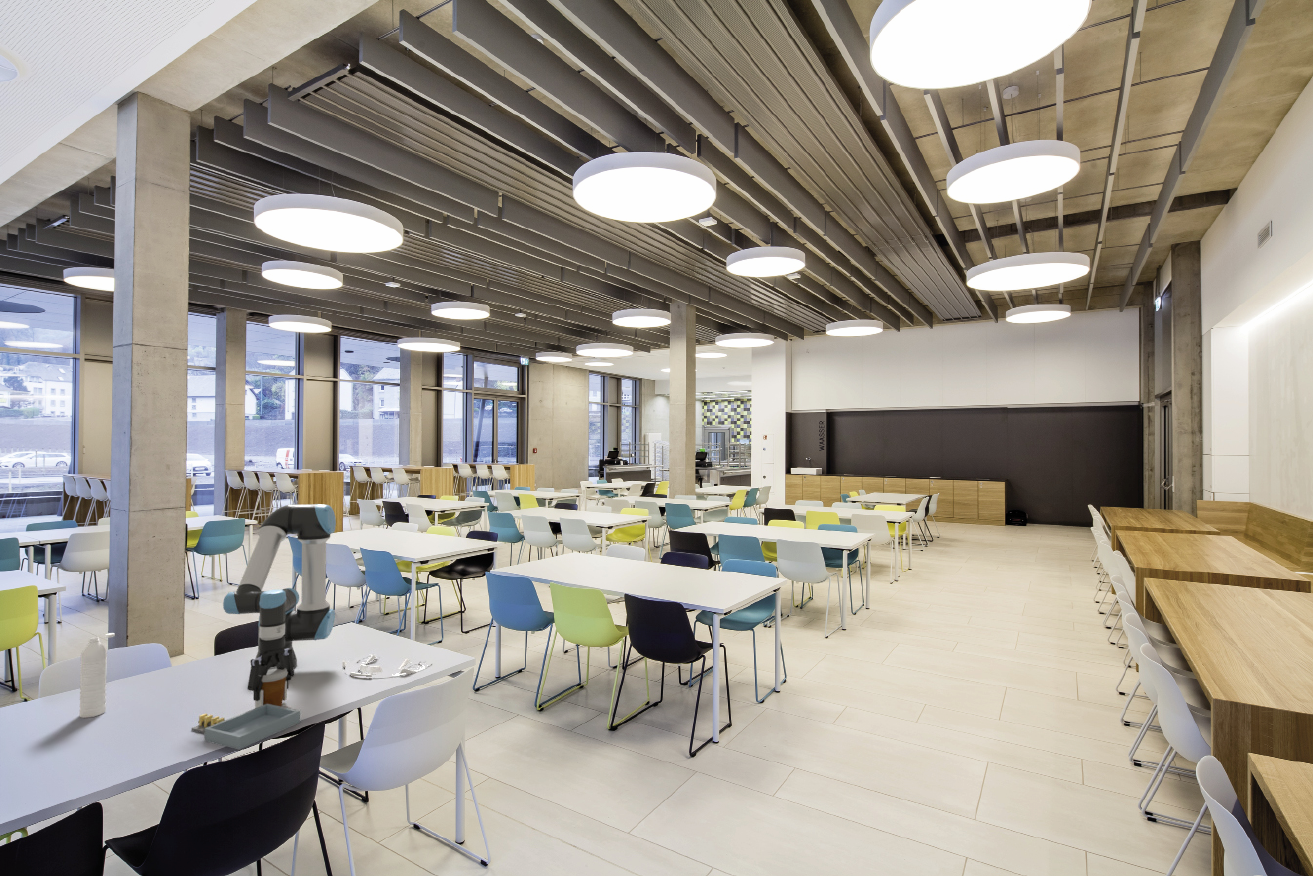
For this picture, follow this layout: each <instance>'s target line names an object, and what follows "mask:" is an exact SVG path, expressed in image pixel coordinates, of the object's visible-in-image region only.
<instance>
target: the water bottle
mask: <svg viewBox="0 0 1313 876" xmlns="http://www.w3.org/2000/svg"><path fill="white" fill-rule="evenodd" d="M115 634H116V633H114V632H109V633H106V634H104V639H105V638H106V639H110V638H113V637H116V636H115ZM107 657H108V650H107V647H105V645H103V643H102V642H101V641H100V637H99V636H93V637H90V638H89V640H88V644H86V646H85V647H84V648H83V650H82V651H81V653H80V675H79V676H80V679H79V680H80V681H79V683H80V685H79V690H80V691H79V718H82V719H83V718H84V719H85V718H94V717H97V716H101V715H103V714H104V713H106V711H107V704H106V703H107V670H108V669H107V667H108V666H107V664H108V662H107V661H108V658H107Z"/></svg>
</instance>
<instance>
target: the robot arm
mask: <svg viewBox="0 0 1313 876" xmlns="http://www.w3.org/2000/svg"><path fill="white" fill-rule="evenodd" d="M336 519H337V518H336V515H335V512H334V508H333V507H332V506H331V505H329V504H320V503H314V504H311V503H309V504H287V505H286V504H285V505H284V506H283V505H282V506H280V507H279V508H277V509H276V510H274V511H272V513H270V514H269V515H268V516H267V517H266V518H265V519H264V520H263V522H262V524H260V527H259V529H258V539H257V542H256V544H255V546H254V549H253V551H252V553H251V556H250V558H249V560H248V563H247V566H246V568H245V571H244V573H243V575H242V577H241V580H240V582H239V584H238V587H237V589H236V591H229V592H228V593H226V594H225V596H224V599H223V604H222V607H223V610H224V612H225V613H226V614H229V615H242V614H243V615H245V614H259V617H258V624H257V626H258V628H257V629H258V631H257V633H258V635H257V636H258V638H257V639H258V640H257V643H258V644H257V653H256V656H255V659H254V658H252V659H250V672H249V676H248V683H247V687H246V689H247V691H252V692H253V701H254V702H255V703H254V706H255V707H254V709H255V708H257V707H260V706H262V705H263V690H261V688H262V685H263V682H262V678H263V676H264V675H266V674H267V672H268V670H269V669H270V668H271V667H277V669H281V670H283V669H284V668H286V669H287V672H288V674H287V676H286V681H285V688H284V694H283V701H285V702H286V701H287V700H288V690H289V686H290V685H289V683H290V681H292V678H293V677H295V668H296V667H297V666H298V659H297V658H298V657H297V656H296V652H295V651H294V647H293V642H298V641H317V640H326V639H327V638H328V637H329V636H331V633H332V631H333V628H334V625H335V621H336V620H335V619H336V611H335V609H333V608H331V604H330V602H328V601H327V599H326V597H327V596H326V593H327V592H326V591H327V589H326V588H327V586H326V585H327V583H326V582H327V581H326V579H327V541H328V540H330V539H331V534H334V533H335V531H336V526H337V523H336V522H337V521H336ZM288 535H297V540H298V541H299V542H300V544H301V596H300V594H299V592H298V591H297V590H296V589H294V588H292V587H287V588H283V589H269V590H268V589H267V590H263V589H264V586H265V584H266V581H267V578H268V576H269V574H270V571H271V568H272V566H273V564H274V561H275V558H276V555H277V553H278V551H279V548H280V546H281V543H282V542H284V541H285V540H286V538H287V536H288ZM300 597H301V603H300V604H298V603H299V602H300ZM297 605H298V606H297ZM296 606H297V607H296ZM295 607H296V610H294V608H295ZM259 675H261V677H260V676H259ZM283 701H282V702H283Z"/></svg>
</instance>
